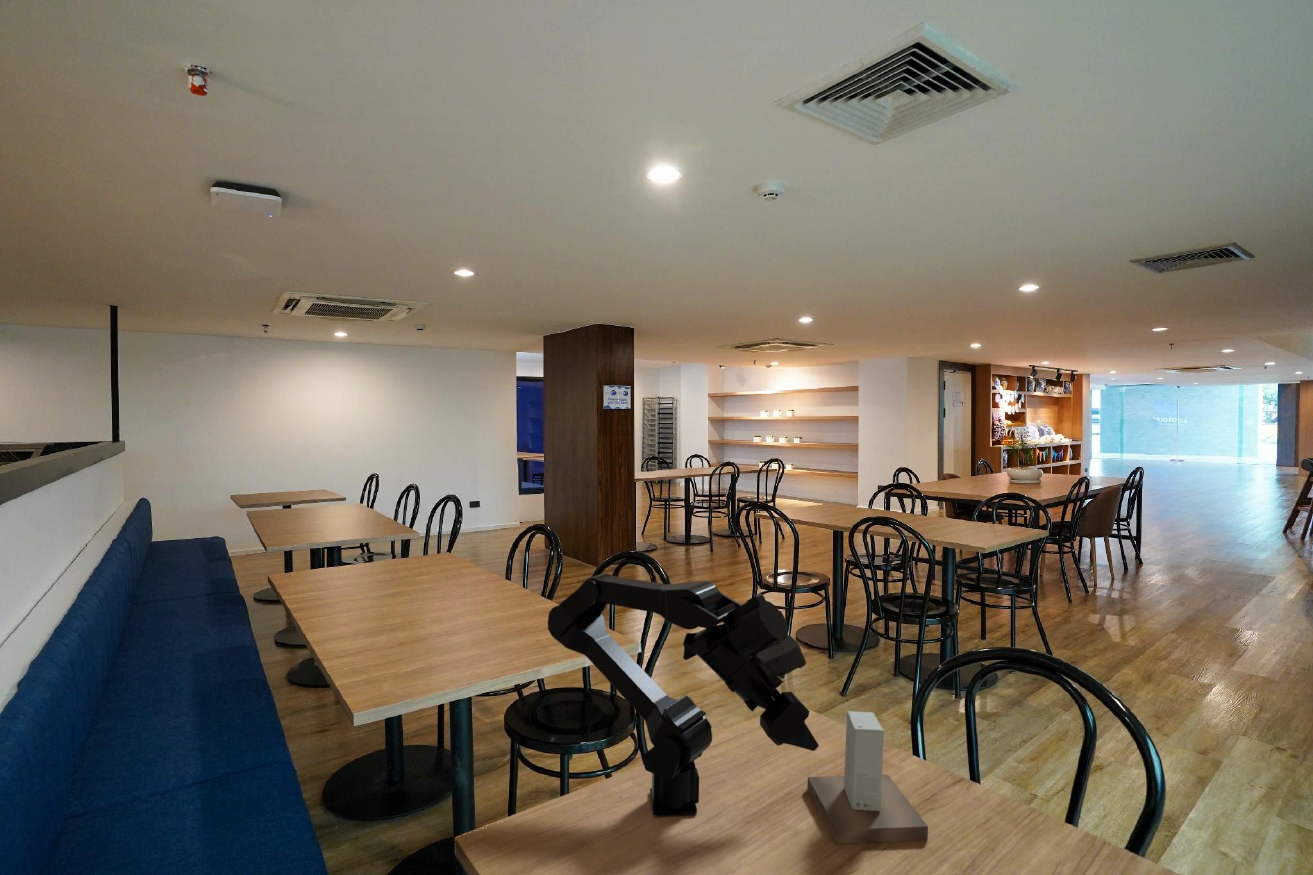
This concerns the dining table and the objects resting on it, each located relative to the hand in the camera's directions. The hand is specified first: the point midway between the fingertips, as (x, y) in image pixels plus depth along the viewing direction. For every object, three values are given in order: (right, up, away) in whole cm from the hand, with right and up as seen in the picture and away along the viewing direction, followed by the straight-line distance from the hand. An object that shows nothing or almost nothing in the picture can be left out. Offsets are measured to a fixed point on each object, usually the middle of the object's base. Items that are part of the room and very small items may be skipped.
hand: (803, 731), depth 97 cm
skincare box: (+9, -11, +1) cm, 14 cm away
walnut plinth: (+9, -12, +1) cm, 16 cm away
